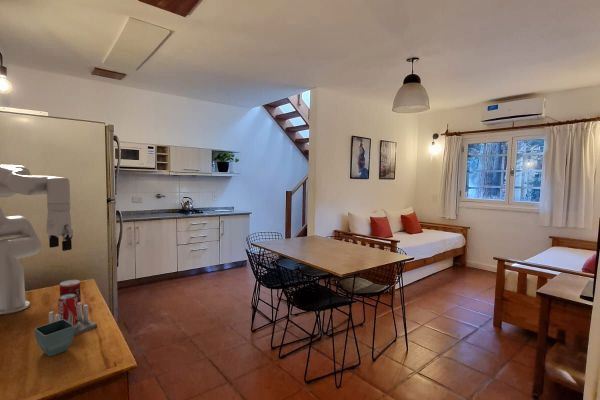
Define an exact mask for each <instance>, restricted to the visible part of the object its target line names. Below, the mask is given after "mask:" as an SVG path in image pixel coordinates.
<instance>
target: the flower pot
mask: <svg viewBox="0 0 600 400" xmlns="http://www.w3.org/2000/svg"><path fill="white" fill-rule="evenodd" d="M46 324H47V325H46ZM46 324H44V326H43V325H41V327H40V326H38V327H35V328H34V330H33V331H34V335H35V339H36V343H37V345H38V347H39V349H40V350H41V351H42V352H43V353H44V354H46V355H47V356H48V357H54V356H56V355H59V354H60V353H63V352H66V351H67V350H68V349H69V348H70V346H71V345H72V343H73V339H74V336H73V333H74V325H73V324H71V323H69V322H68V321H66V320H64V319H62V320H58V321H56V322H55V321H54V322H53V323H50V324H49V323H46Z"/></svg>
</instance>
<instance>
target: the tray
mask: <svg viewBox="0 0 600 400" xmlns="http://www.w3.org/2000/svg"><path fill="white" fill-rule="evenodd" d="M58 320H60V314H58V313H56V314H55V311H49V312H48V323H46V324H44V325H47V324H50V323H53V322H56V321H58ZM44 325H41V326H44ZM41 326H39V327H41ZM96 327H98V323H97V322H94V321H91V320H90V319H89V305H88V304H84V305H83V303H82V302H80V303H78V323H77V324H76V325H75V326H74V333H73V337H74V336H76V335H77V336H78V335H79V334H82V333H84V332H86V331H90V330H92V329H95V328H96Z"/></svg>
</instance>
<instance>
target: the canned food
mask: <svg viewBox="0 0 600 400" xmlns="http://www.w3.org/2000/svg"><path fill="white" fill-rule="evenodd" d="M65 294H75V295H76V297H77V303H80V302H81V301H82V299H81V297H82V296H81V280H79V279H68V280H64V281H61V282H60V283H59V297H60V296H62V295H65ZM81 303H82V302H81Z"/></svg>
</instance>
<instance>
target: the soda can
mask: <svg viewBox="0 0 600 400" xmlns="http://www.w3.org/2000/svg"><path fill="white" fill-rule="evenodd" d="M57 314H60V320H62V319H64V320H66V321H68V322H69V323H71V324H73V325H74V326H75V325H76V324H77V323H78V303H77V297H76V295H75V294H65V295H62V296H60V295H59V297H58V300H57Z"/></svg>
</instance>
